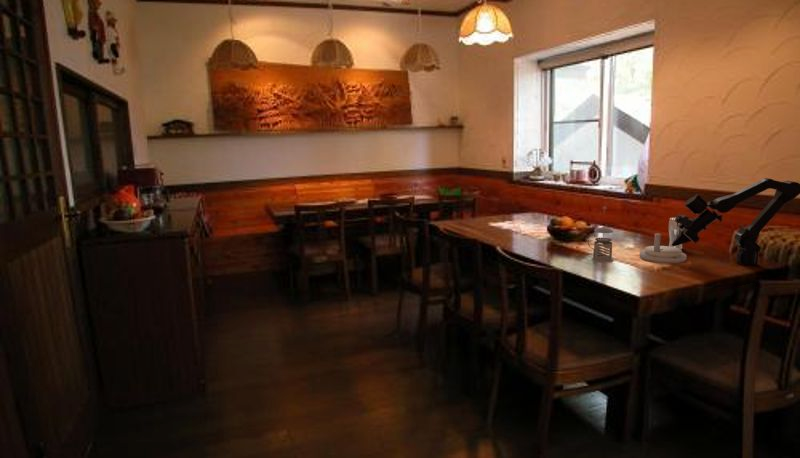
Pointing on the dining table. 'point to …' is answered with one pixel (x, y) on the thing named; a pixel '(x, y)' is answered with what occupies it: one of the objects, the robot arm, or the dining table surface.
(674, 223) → the beer glass
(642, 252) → the base
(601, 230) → the french press
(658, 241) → the dial
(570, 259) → the dining table surface
